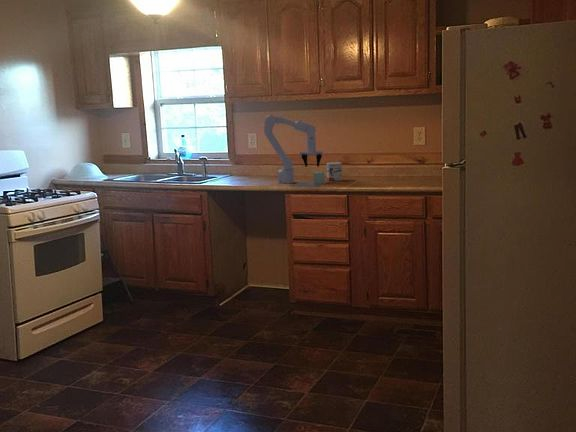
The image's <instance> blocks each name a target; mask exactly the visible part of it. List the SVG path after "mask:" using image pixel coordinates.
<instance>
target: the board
mask: <svg viewBox="0 0 576 432" xmlns="http://www.w3.org/2000/svg"><path fill="white" fill-rule="evenodd" d="M326 183H328V181H324V183H322V184H314V181H300V182H297V183H293V185H289V187H291V188H292V187H294V188H295V187H296V188H298V187H299V188H301V187H304V188H305V187H306V188H313V187H315V188H317V187H318V188H319V187H321V186H322V185H325V184H326Z"/></svg>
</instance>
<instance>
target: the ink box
mask: <svg viewBox="0 0 576 432" xmlns="http://www.w3.org/2000/svg"><path fill="white" fill-rule="evenodd" d="M342 169H343V167H342V162H341V161H340V162H339V161H336V162H335V161H334V162H327V163H326V180H327V181H326V182H337V181H343V173H342V172H343V170H342Z"/></svg>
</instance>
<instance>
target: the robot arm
mask: <svg viewBox="0 0 576 432" xmlns="http://www.w3.org/2000/svg"><path fill="white" fill-rule="evenodd" d="M275 124H276V125H278V124H283V125H286V126H290V127H293V129H294V130H295V131H299V132H302V133H306V151H300V152H299V154H300V157H301V159H302V160H303V163H304V167H305V168H307V167H308V156H315V157H316V167H317V168H319V167H320V164H321V159H322V157H323V155H324V151H317V142H316V141H317V139H316V131H317V129H316V127H315V126H314V125H312V124H310V123H309V122H307V123H306V122H303V121H302V120H295V121H293V120H290V119H288V118H285V117H282V116H278V115H273V114H269V115H267V116H266V117H265V120H264V124H263V125H264V127H263V133H264V135H265V137H266V138H267V140H268V142H269V143H270V145H271V146H272V148H273V150H274V151H275V154H277V156H278V157H279V159H280V161H281V163H282V168H281V169H279V170H278V173H277V178H278V181H277V182H278V184H295V170H294V167H293V166H294V163H293V161H292V160H293V159H291V158H289V157H288V155H287V154H286V152H285V150H284V149H283V147H282V146H281V144H280V142H279V141H278V140H277V138H276V137H275V136H276V135H275V134H274V133H273V129H274V127H275Z"/></svg>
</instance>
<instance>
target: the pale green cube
mask: <svg viewBox="0 0 576 432" xmlns="http://www.w3.org/2000/svg"><path fill="white" fill-rule="evenodd" d="M312 177H313V182H314V184H322V183H324V182H325V171H315V172H313V175H312Z"/></svg>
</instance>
